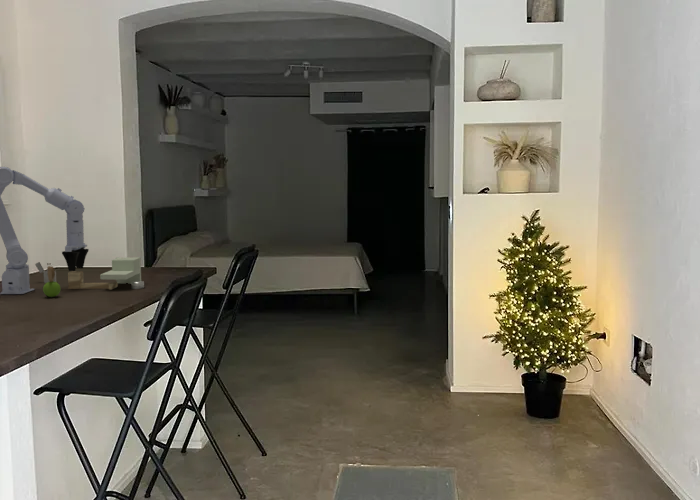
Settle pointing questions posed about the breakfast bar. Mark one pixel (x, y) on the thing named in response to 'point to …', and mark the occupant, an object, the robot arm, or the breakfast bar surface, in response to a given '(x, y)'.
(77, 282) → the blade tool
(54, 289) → the green gourd
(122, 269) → the pale chair
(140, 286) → the token
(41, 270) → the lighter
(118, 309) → the breakfast bar surface
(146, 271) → the breakfast bar surface
